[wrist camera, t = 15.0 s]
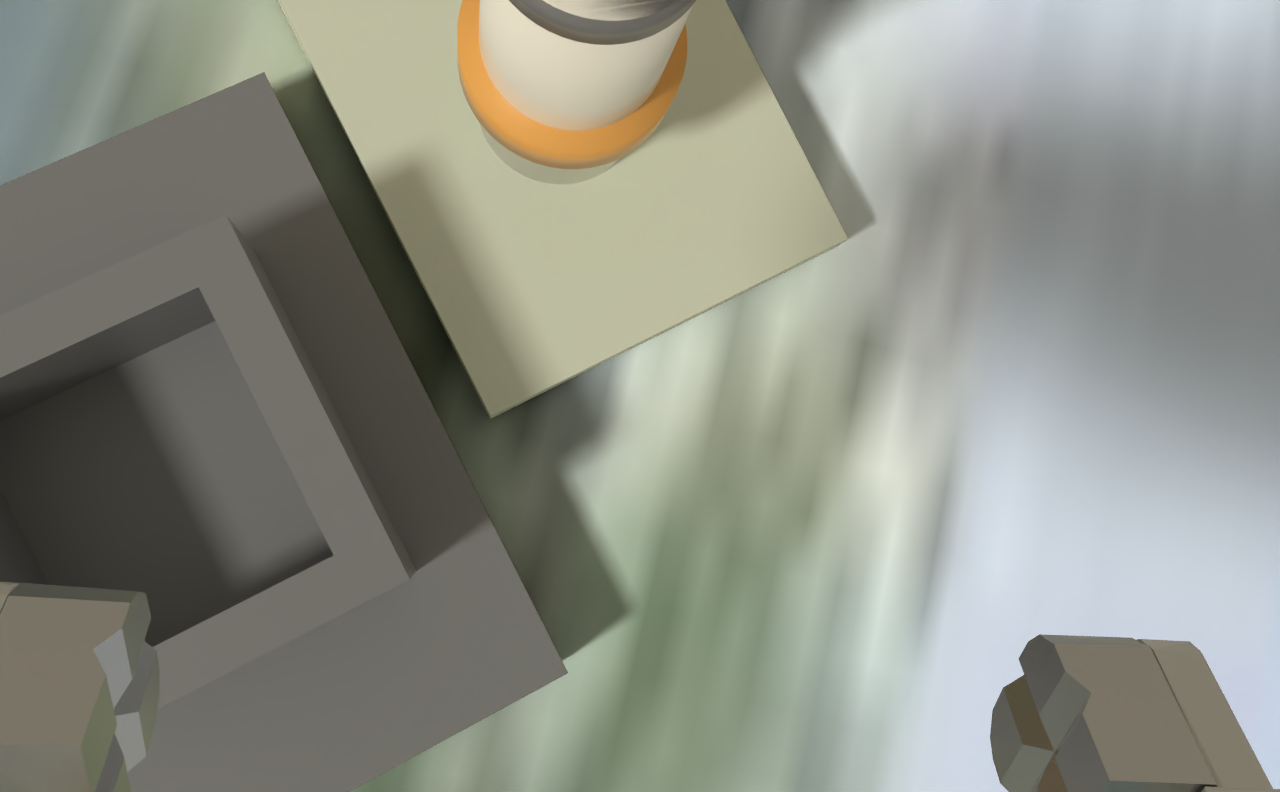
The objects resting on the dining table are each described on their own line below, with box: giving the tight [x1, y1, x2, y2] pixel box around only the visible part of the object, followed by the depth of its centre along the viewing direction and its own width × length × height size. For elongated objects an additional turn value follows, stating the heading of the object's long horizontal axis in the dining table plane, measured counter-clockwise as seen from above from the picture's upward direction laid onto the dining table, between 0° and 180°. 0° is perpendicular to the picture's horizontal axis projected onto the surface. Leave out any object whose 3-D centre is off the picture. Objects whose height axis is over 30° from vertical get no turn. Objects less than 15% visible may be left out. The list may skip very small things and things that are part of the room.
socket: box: [0, 72, 568, 792], centre depth 24 cm, size 14×11×4 cm
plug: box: [457, 0, 696, 185], centre depth 22 cm, size 4×4×9 cm
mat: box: [278, 0, 848, 419], centre depth 27 cm, size 11×9×1 cm
